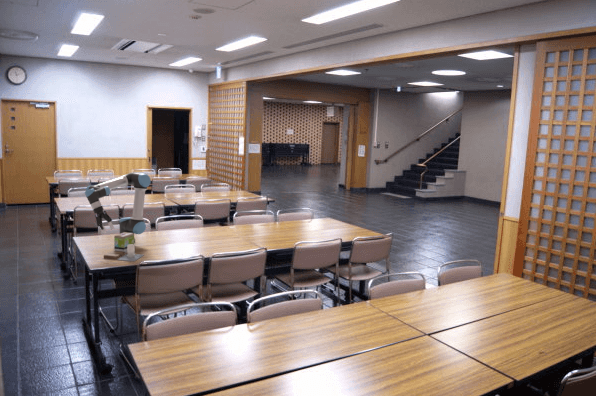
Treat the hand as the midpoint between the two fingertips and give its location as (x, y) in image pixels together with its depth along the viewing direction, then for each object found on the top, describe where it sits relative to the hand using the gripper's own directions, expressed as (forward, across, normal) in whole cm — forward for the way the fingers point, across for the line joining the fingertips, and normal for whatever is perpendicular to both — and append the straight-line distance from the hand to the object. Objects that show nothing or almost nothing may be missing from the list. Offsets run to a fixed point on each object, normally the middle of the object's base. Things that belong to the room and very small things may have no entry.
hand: (109, 231), depth 375 cm
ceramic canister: (+26, +2, +8) cm, 27 cm away
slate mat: (+27, +2, +8) cm, 28 cm away
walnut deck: (+20, +1, -5) cm, 21 cm away
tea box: (+21, -16, -4) cm, 27 cm away
